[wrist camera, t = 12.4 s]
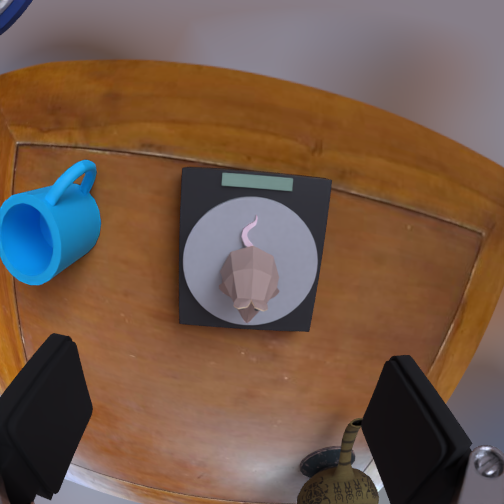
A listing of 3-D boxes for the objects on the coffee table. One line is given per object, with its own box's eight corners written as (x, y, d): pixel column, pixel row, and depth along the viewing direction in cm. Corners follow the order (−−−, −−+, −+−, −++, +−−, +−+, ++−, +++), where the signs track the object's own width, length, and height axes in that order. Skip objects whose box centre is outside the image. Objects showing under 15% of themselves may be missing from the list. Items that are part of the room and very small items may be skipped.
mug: (78, 271, 31) (40, 303, 24) (30, 226, 30) (-15, 245, 22) (136, 184, 29) (101, 195, 21) (80, 136, 27) (35, 134, 19)
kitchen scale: (187, 166, 29) (180, 168, 26) (325, 178, 29) (334, 180, 26) (183, 312, 33) (177, 328, 30) (305, 320, 34) (310, 335, 30)
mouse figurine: (286, 217, 27) (300, 237, 21) (274, 303, 29) (282, 342, 23) (225, 210, 27) (220, 228, 20) (217, 298, 29) (211, 337, 23)
